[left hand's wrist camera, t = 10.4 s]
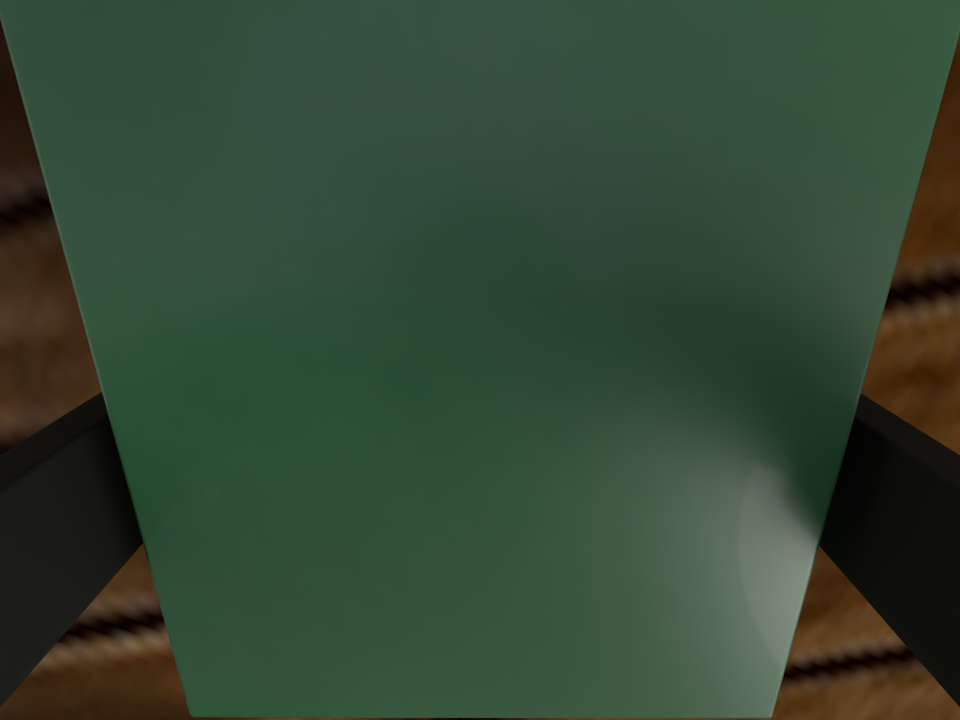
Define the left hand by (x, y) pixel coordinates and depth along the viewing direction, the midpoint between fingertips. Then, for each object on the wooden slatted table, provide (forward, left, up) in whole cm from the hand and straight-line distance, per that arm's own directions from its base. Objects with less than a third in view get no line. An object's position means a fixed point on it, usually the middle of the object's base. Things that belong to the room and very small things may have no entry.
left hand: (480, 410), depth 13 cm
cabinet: (+2, +6, -7) cm, 9 cm away
